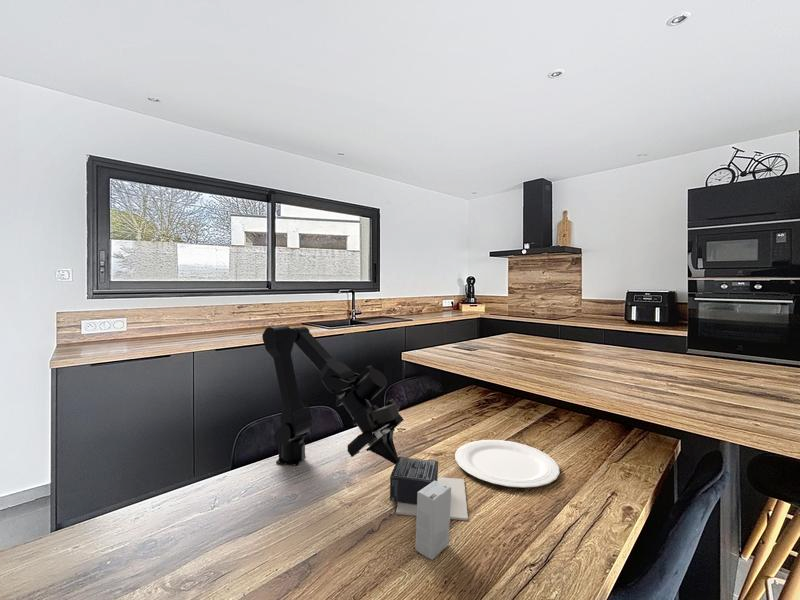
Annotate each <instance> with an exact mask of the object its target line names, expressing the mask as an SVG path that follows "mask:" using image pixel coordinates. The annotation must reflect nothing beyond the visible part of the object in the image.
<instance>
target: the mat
mask: <svg viewBox="0 0 800 600" xmlns="http://www.w3.org/2000/svg"><path fill="white" fill-rule="evenodd" d="M437 482H440V483H442V484H445V485H447V486H449V487H451V506H450V520H456V521H457V520H459V521H467V522H468V521H469V516H468V515H469V514H468V506H467V505H468V504H467V495H466V488H465V479H464V478H453V477H444V476H443V477H442V476H438V478H437ZM395 511H396V512H395V514H396V515H403V516H405V515H406V516H415V517H417V504H412V503H404V502H397V506H396V510H395Z"/></svg>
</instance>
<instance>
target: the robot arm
mask: <svg viewBox="0 0 800 600" xmlns="http://www.w3.org/2000/svg"><path fill="white" fill-rule="evenodd" d="M261 337H262V341H263V345H264V347H265V351H266V352H267V353H268V354H269V355H270V356H271V357H272V358H273V362H274V367H275V372H276V373H275V374H276V377H277V382H278V386H279V388H278V389H279V392H280V396H281V402H282V406H283V407H282V412H281V414H280V416H279V417H280V418H279V422H280V423H279V424H280V427H279V428H278V429H277V430H276V431H274V433H273V435H272V437H273V441H274V443H276V444H278V459H277V460H276V462H275V463H276V464H277V465H287V466H298V465H299V464H300V463H301V461H302V460H303V459H304V458H305V457H306V443H305V442H304V437H307V436H308V435H309V431H310V430H311V428H312V426H313V424H312V423H313V420H314V419H313V417H312V413H311V408H310V407H309V406H307V407H306V406H305V405H304V404H303V403H302V402H301V401H302V400H301V396H300V392H299V386H298V383H297V382H298V381H297V377H296V373H295V372H296V371H295V368H294V364H293V358H292V351H293V348H294V345H296V346H297V348H298V349H300V350H301V352H302V353H303V354H304V355H305V356H306V357H307V358H308V360H309V361H310V362H311V363H312V364H313V365H314V367H315V368H316V369H317V370H318V371H319V374H320V380H321V381H322V383H323V384H324V386H325V388H326V390H327V391H328V392H329V393H331V394H338V393H340V392H342V391H345V390H346V391H345V392H344V393H342V394H339V395H336V401H335V407H337V408H338V407H340V406H342V405H343V406H344V408H345V409H346V412H348V414H349V415H350V417H351V418H352V421H351V422H350V423H351V425H352V426H357V427H358V428H359V430H360V432H361V433H360V434H358V435H357V436H356V437H355V438H354V439H353V440H351V441H350V442H349V443H348V444H347V452H348V454H349V456H350V457H351V458H353V457H355V456H356V455H358V454H359V453H360V451H361V450H362V449H363V448H364V447H366V445H368V447H367V448H366V451H367V452H372V453H374V454H376V455H378V456H380V457H382V458H383V459H385V460H387V461H388V462H390V463H392V464H394V465H395V464H396V463H398V462H399V459H398V457H399V456H398V452H397V450H396V447H395V443H394V439H393V437H394V432H395V431H396V430H395V428H396V427H398V426H399V425H400V424H401V423H403V421H404V420H405V419H404V418H403V417H402V415H401V414H400V413H399V410H400V409H401V406H400V405H399V404H398V402H396V400H395V399H394V398H392V399H390V400H387V401H386V402H385V405H384V406H383V407H381V408H379V407H378V405H376V404H373V405H372V404H371V403H370V401H372V400H373V399H374V398H376V396H377V395H379V394H380V392H382V391H383V390H384V389H385V388H386V387H387V386H388V380H387V377H386V376H385V374H384V373H382V372H381V371H379V370H378V369H376V368H374V367H373V366H372V365H369V366H366V367H365V368H364V369H363V370H362V372H361V373H357V372H354V371H353V369H352V368H350V367H349V366H347V365H346V364H345V363H344V362H342V361H339V360H336V359H335V358H334V357H332V355H331V354H330V353H329V352H328V351H327V350H326V349H325V348H324V346H323V345H322V344H321V343H320V342H319V341H318V340H317V339H316V338H315V337H314V336H313V334H312V333H311V332H310V330H309V328H308V327H306V326H298V327H290V326H288V325H277V326H269V327H266V328H265V330H264V332H263V333H262V336H261ZM352 387H353V388H352Z"/></svg>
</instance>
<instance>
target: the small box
mask: <svg viewBox="0 0 800 600" xmlns="http://www.w3.org/2000/svg"><path fill="white" fill-rule="evenodd" d="M398 459H399V462H398V463H396V464H394V467H393V468H392V471H391V474H390V476H389V478H390V480H389V481H390V482H389V501H390V502H391V501H392V502H397V503H398V502H404V503H412V504H417V492H418V491H420V490H421V489H423V488H424V487H426V486H427V485H429V484H430V483H432V482H433V481H437V478H438V477H439V476H438V475H439V473H438V472H439V461H438V460H427V459H419V458H413V457H412V458H410V457H404V456H398Z"/></svg>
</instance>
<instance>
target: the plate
mask: <svg viewBox="0 0 800 600" xmlns="http://www.w3.org/2000/svg"><path fill="white" fill-rule="evenodd" d="M454 458H455V462H456V463H457V465H458V466H459V468H460V469H462V470H463V471H464V472H465V473H466V474H468V475H470V476H472V477H475V478H476V479H478V480H481V481H482V482H486V483H489V484H492V485H496V486H501V487H506V488H515V489H532V488H539V487H543V486H547V485H550V484H551V483H553V482H555V481H556V480H557V479H558V478H559V476H560V467H559V465H558V463H557V461H556V460H554V459H553V458H552V457H551V456H549V455H548V454H547V453H545V452H544V451H541V450H539V449H538V448H535V447H532V446H530V445H527V444H524V443H520V442H516V441H509V440H503V439H502V440H501V439H482V440H481V439H480V440H475V441H474V440H473V441H470V442H467V443H465V444H463V445H461V446H460V447H459V448H457V450H456V452H455V454H454Z"/></svg>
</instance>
